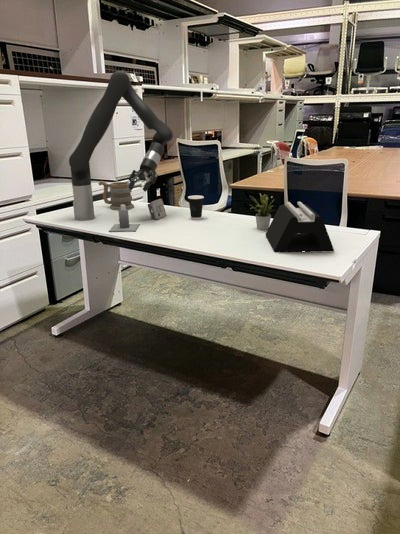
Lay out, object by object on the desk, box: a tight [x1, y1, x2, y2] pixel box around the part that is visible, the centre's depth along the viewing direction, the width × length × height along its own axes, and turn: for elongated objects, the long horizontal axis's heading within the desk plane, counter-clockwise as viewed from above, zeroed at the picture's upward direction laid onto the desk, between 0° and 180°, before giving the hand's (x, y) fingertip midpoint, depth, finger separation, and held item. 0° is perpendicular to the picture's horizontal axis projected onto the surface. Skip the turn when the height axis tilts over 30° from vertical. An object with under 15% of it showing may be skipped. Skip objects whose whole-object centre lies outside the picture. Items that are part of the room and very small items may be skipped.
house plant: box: [249, 193, 276, 231], centre depth 188 cm, size 14×14×16 cm
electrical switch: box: [147, 198, 167, 221], centre depth 212 cm, size 9×5×9 cm, turn 152°
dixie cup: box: [187, 195, 205, 221], centre depth 208 cm, size 8×8×11 cm
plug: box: [117, 205, 130, 228], centre depth 192 cm, size 4×4×10 cm
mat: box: [108, 223, 140, 233], centre depth 194 cm, size 12×12×1 cm
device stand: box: [265, 201, 335, 253], centre depth 165 cm, size 22×22×15 cm
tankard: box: [98, 180, 135, 211], centre depth 236 cm, size 20×13×15 cm, turn 69°
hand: (137, 189), depth 197 cm, fingers open, 8 cm apart
